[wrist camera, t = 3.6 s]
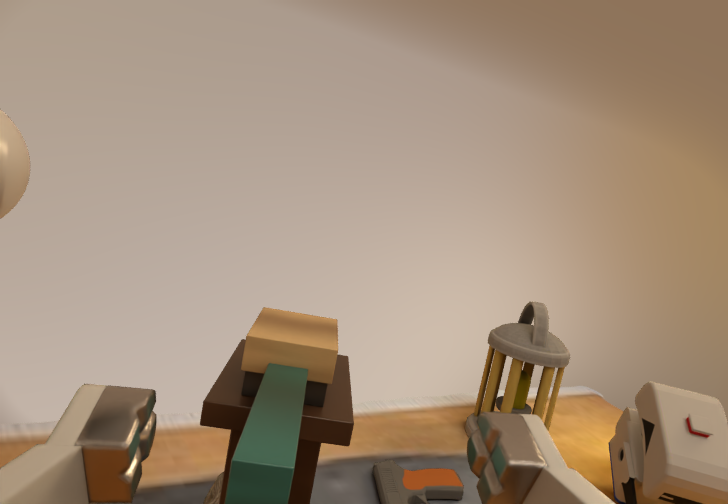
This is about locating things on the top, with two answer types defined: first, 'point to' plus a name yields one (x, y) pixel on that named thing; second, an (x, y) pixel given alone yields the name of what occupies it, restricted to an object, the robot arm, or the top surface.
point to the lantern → (522, 347)
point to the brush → (279, 400)
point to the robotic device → (670, 449)
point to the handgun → (415, 484)
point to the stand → (316, 426)
